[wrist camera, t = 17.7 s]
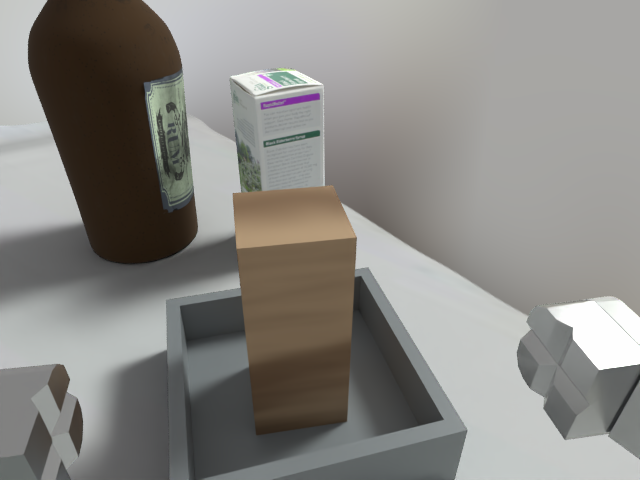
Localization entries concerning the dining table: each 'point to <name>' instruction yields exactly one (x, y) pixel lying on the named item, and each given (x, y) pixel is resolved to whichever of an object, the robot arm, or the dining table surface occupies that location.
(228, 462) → the bin
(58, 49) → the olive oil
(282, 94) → the syrup box
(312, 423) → the wooden block
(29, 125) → the dining table surface
